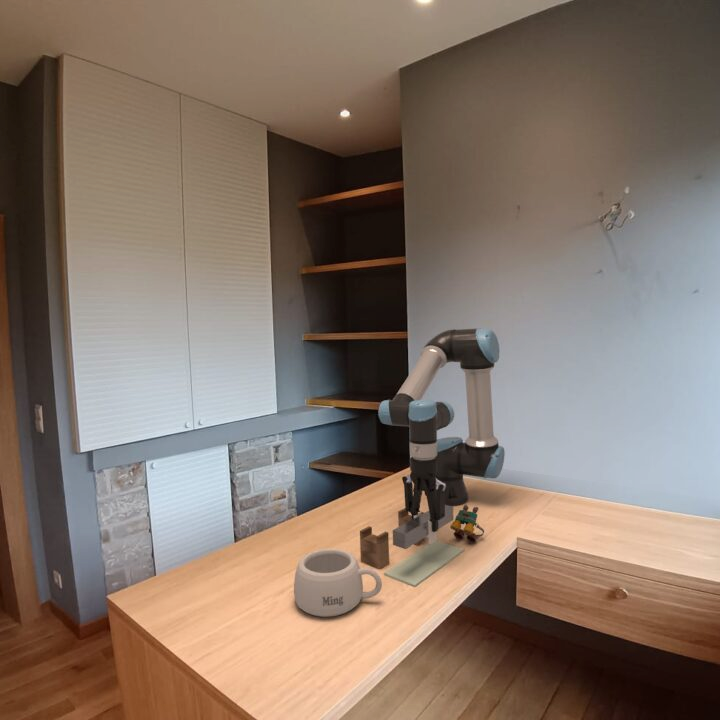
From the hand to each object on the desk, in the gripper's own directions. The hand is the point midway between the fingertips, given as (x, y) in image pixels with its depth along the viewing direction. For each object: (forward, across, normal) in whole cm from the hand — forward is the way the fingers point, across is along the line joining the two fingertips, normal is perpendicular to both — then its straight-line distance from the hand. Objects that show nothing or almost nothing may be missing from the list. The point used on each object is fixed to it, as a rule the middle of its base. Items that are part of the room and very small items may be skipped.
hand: (425, 539), depth 133 cm
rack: (+7, -11, 0) cm, 13 cm away
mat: (+7, 0, 0) cm, 7 cm away
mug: (+7, -6, -29) cm, 30 cm away
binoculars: (+7, +2, +19) cm, 21 cm away
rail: (-2, 0, 0) cm, 2 cm away
